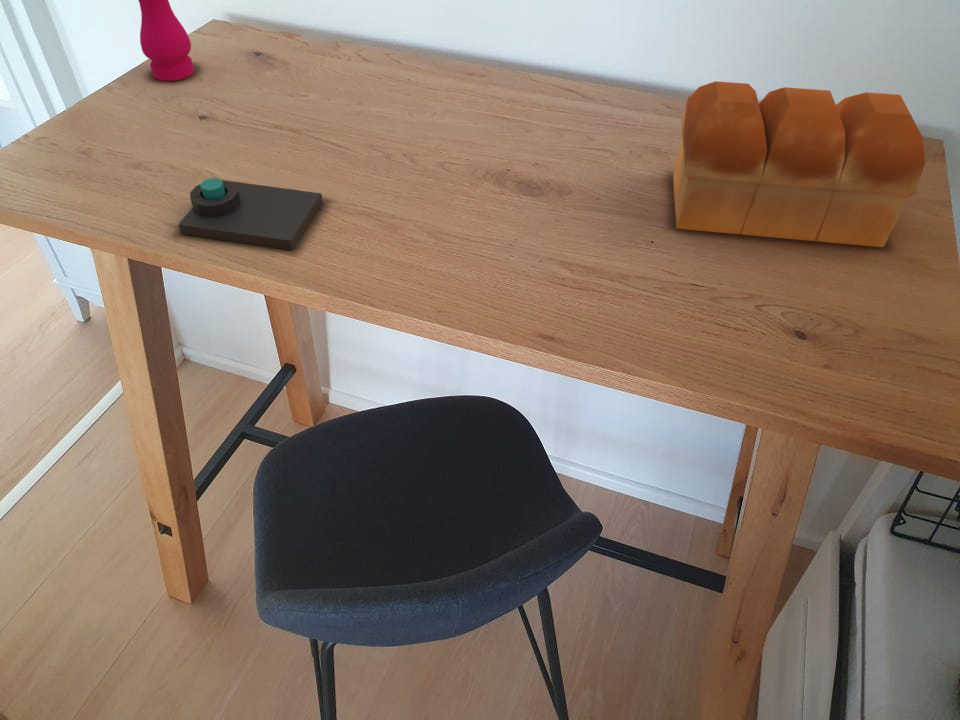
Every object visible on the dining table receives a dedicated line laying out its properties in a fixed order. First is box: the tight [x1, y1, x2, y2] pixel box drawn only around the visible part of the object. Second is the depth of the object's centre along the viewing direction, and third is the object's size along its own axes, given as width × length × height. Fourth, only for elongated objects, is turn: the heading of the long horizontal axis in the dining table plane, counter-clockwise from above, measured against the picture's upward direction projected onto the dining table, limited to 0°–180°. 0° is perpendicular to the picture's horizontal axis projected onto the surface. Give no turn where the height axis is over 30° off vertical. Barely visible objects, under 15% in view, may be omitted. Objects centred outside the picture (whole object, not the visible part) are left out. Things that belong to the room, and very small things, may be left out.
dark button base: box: [177, 179, 324, 251], centre depth 92 cm, size 14×10×3 cm
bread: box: [672, 80, 926, 248], centre depth 90 cm, size 25×12×15 cm, turn 82°
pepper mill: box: [137, 0, 195, 82], centre depth 113 cm, size 7×7×20 cm
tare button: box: [199, 177, 226, 200], centre depth 91 cm, size 3×3×2 cm
